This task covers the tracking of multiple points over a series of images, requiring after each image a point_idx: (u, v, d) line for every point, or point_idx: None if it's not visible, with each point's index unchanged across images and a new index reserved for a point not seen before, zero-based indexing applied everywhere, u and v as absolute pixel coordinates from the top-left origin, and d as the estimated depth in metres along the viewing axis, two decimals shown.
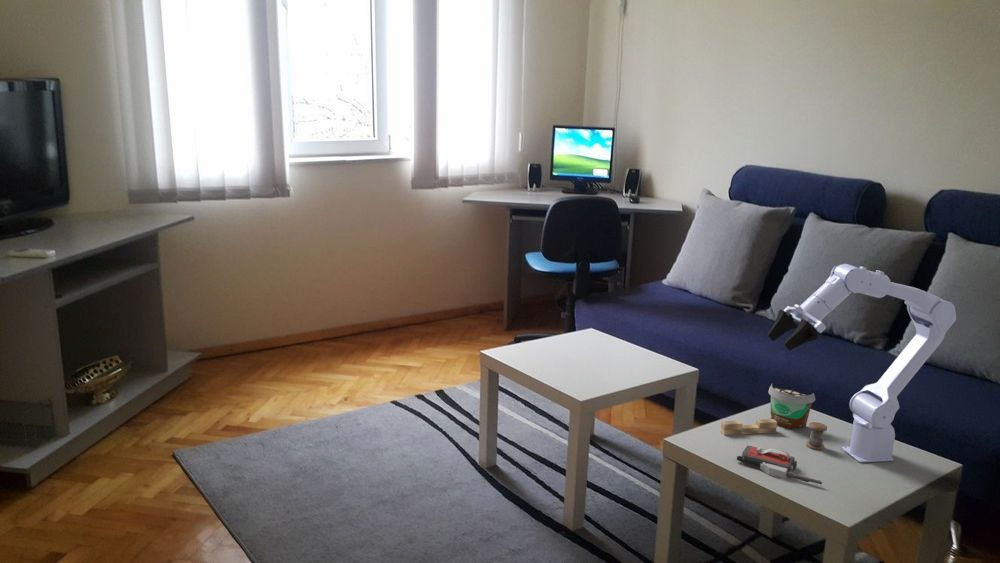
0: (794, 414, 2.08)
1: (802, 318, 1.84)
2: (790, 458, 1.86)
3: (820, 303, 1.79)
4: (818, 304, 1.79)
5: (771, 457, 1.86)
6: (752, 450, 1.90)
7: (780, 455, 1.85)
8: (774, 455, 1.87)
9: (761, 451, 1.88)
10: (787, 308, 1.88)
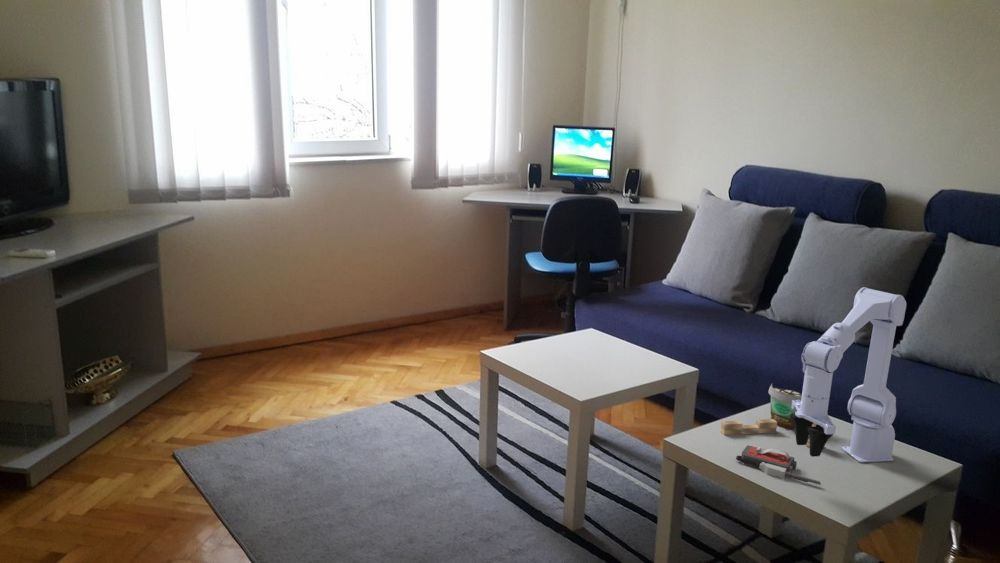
0: None
1: None
2: (790, 458, 1.86)
3: (814, 401, 1.70)
4: (813, 403, 1.70)
5: (770, 456, 1.87)
6: (752, 450, 1.90)
7: (779, 455, 1.85)
8: (774, 455, 1.87)
9: (761, 451, 1.88)
10: (793, 404, 1.80)
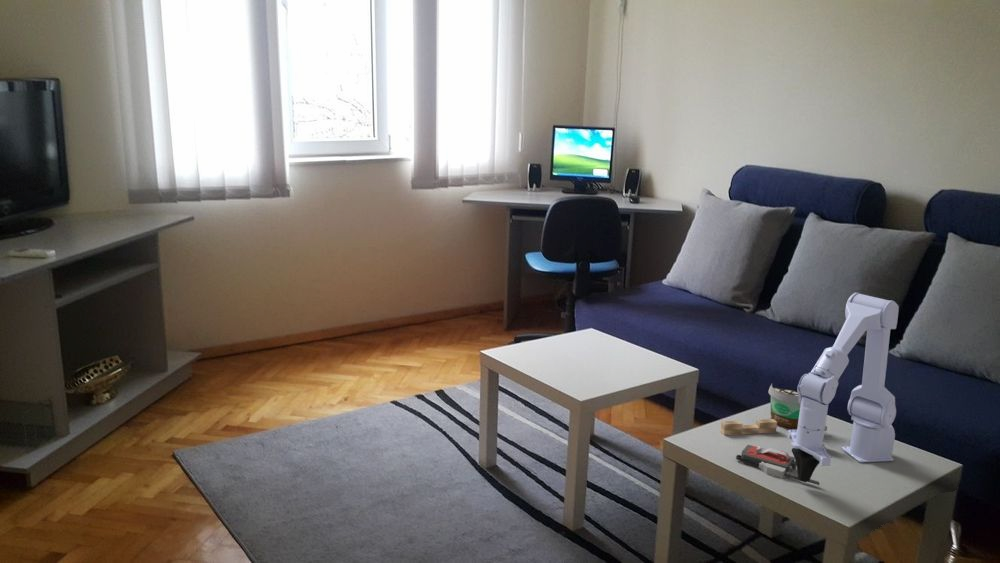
0: (794, 414, 2.08)
1: None
2: (789, 458, 1.86)
3: (810, 432, 1.72)
4: (809, 434, 1.72)
5: (770, 456, 1.87)
6: (752, 449, 1.90)
7: (779, 455, 1.85)
8: (774, 455, 1.87)
9: (761, 451, 1.89)
10: (789, 434, 1.81)
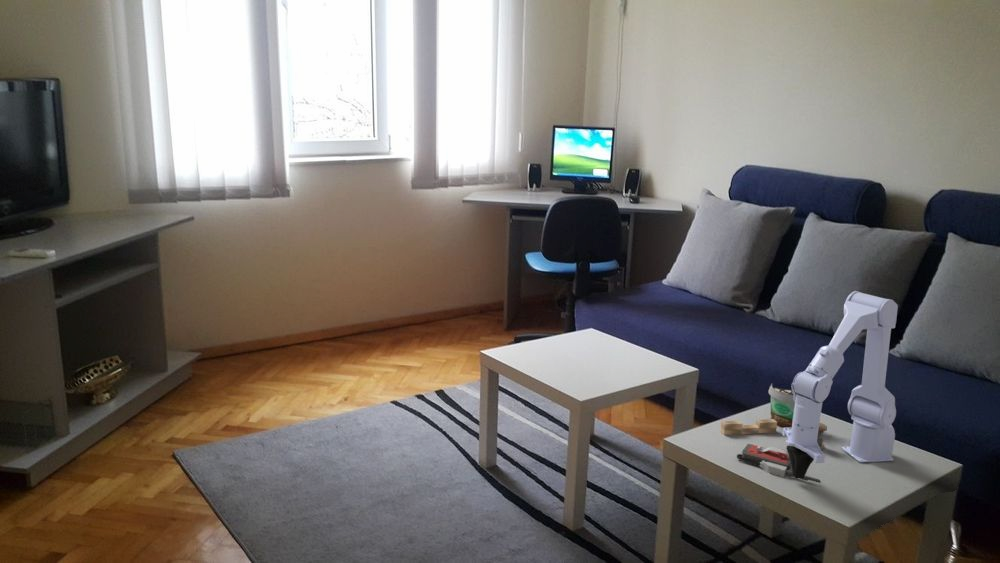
0: None
1: None
2: None
3: (804, 430, 1.74)
4: (803, 432, 1.74)
5: (771, 455, 1.87)
6: (752, 448, 1.91)
7: (780, 454, 1.86)
8: (774, 454, 1.88)
9: (761, 449, 1.89)
10: (784, 431, 1.84)
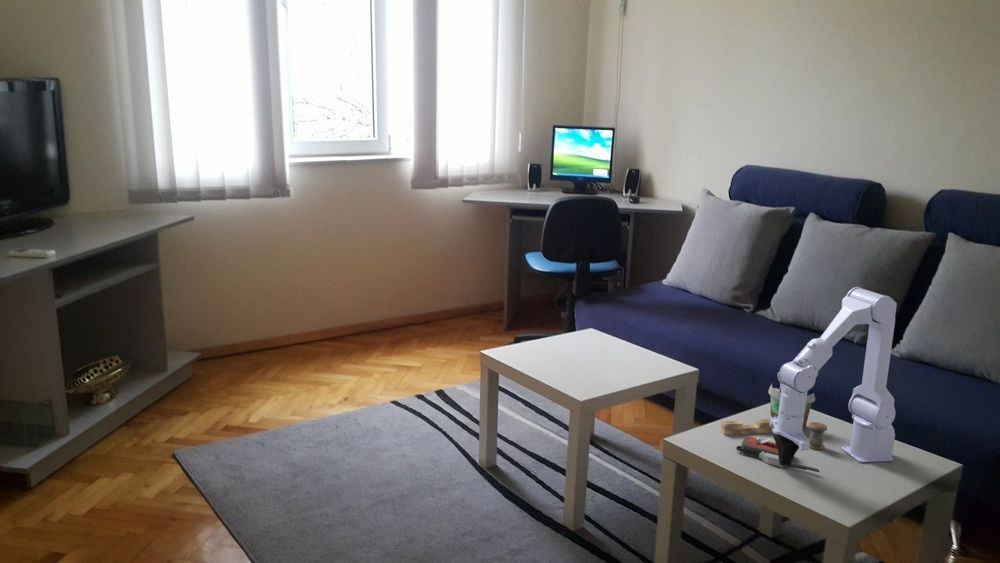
0: None
1: None
2: None
3: (790, 419, 1.80)
4: (789, 421, 1.80)
5: (770, 446, 1.92)
6: (751, 440, 1.95)
7: None
8: (772, 445, 1.93)
9: (760, 441, 1.94)
10: (771, 421, 1.90)
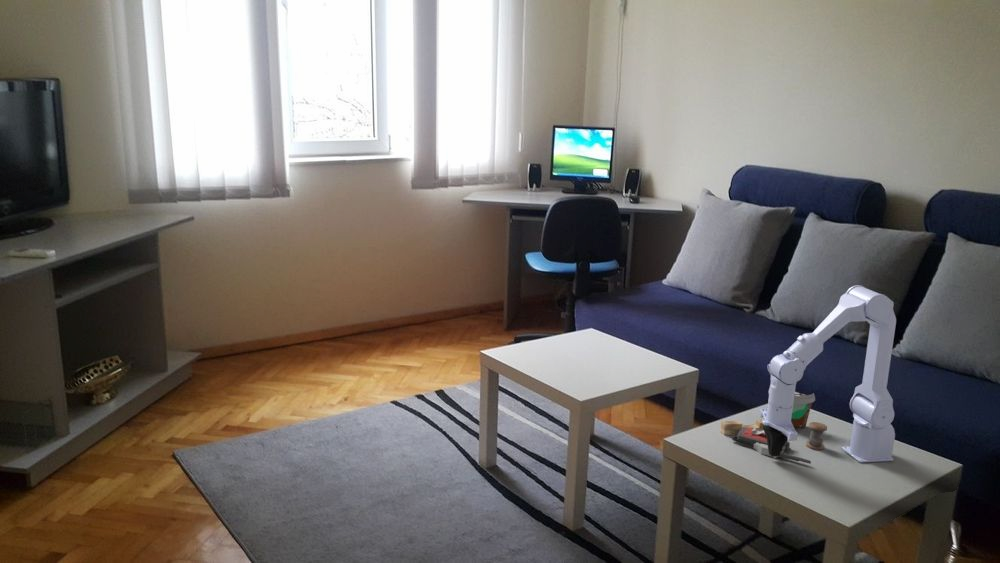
0: (794, 414, 2.08)
1: None
2: None
3: (779, 410, 1.85)
4: (778, 412, 1.85)
5: (765, 437, 1.97)
6: (747, 431, 2.00)
7: None
8: None
9: (756, 432, 1.99)
10: (761, 412, 1.94)
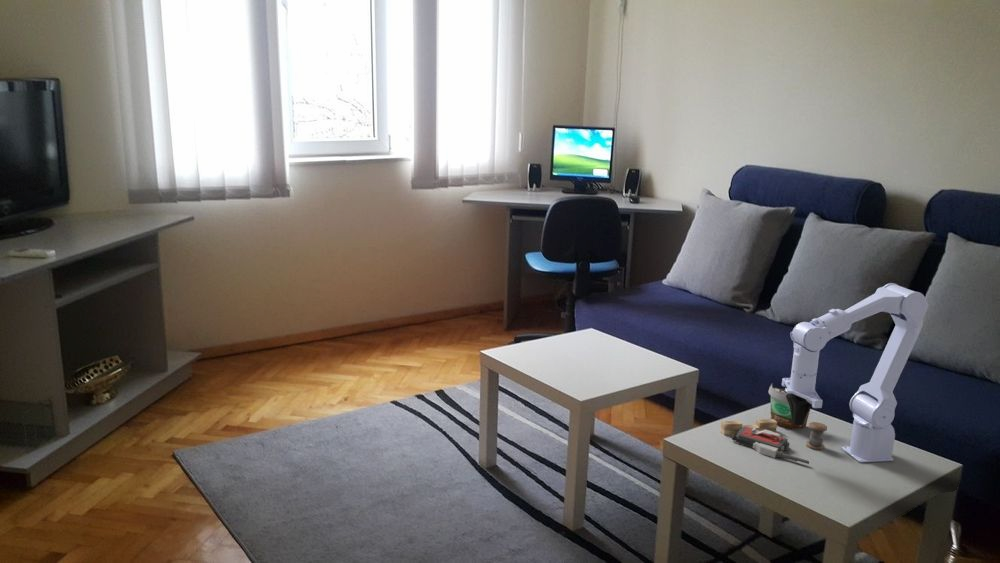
0: None
1: None
2: (782, 439, 1.96)
3: (803, 378, 1.83)
4: (802, 379, 1.83)
5: (764, 437, 1.97)
6: (747, 431, 2.01)
7: (772, 436, 1.96)
8: (767, 436, 1.98)
9: (755, 432, 1.99)
10: (783, 381, 1.93)
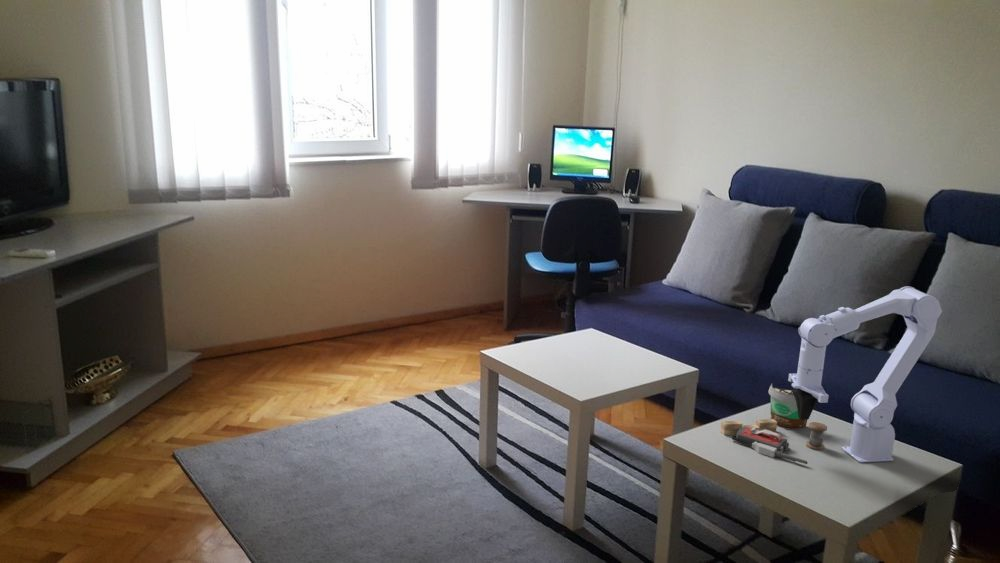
0: (794, 414, 2.08)
1: None
2: (782, 439, 1.96)
3: (809, 373, 1.86)
4: (808, 375, 1.86)
5: (763, 437, 1.97)
6: (747, 430, 2.01)
7: (771, 436, 1.96)
8: (767, 436, 1.98)
9: (755, 431, 1.99)
10: (790, 377, 1.96)
